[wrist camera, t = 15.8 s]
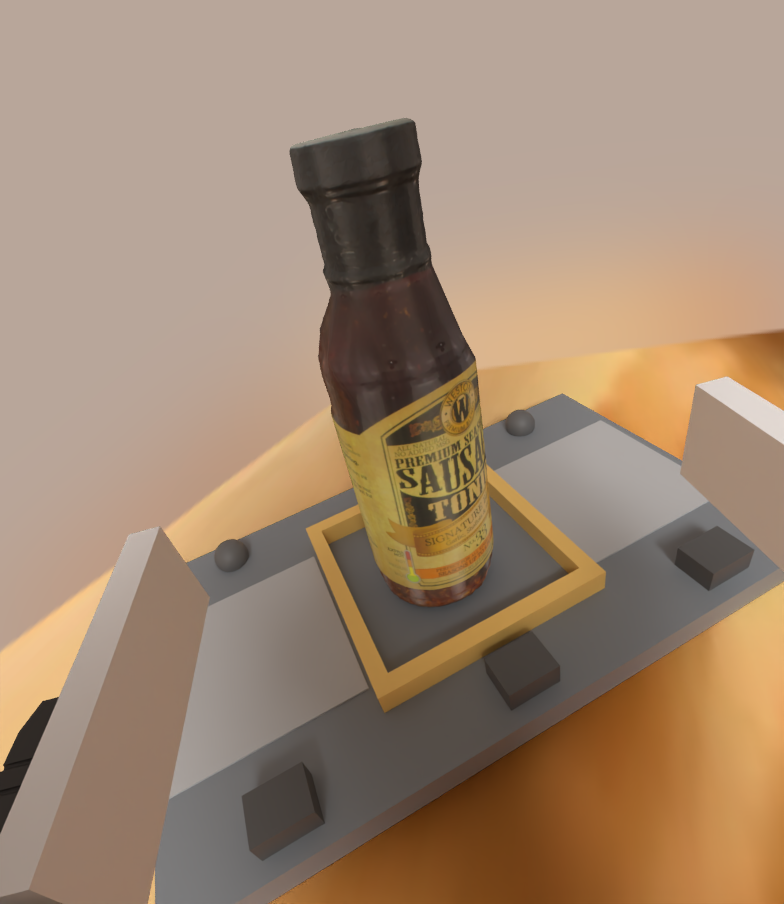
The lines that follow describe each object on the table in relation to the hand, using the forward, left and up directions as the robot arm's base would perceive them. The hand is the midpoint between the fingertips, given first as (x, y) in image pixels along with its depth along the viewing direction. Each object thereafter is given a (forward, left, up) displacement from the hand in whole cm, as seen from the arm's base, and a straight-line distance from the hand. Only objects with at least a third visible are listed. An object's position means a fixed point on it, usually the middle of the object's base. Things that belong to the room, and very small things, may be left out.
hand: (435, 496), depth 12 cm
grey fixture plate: (-2, -8, -14) cm, 16 cm away
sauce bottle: (-2, -8, -12) cm, 15 cm away
